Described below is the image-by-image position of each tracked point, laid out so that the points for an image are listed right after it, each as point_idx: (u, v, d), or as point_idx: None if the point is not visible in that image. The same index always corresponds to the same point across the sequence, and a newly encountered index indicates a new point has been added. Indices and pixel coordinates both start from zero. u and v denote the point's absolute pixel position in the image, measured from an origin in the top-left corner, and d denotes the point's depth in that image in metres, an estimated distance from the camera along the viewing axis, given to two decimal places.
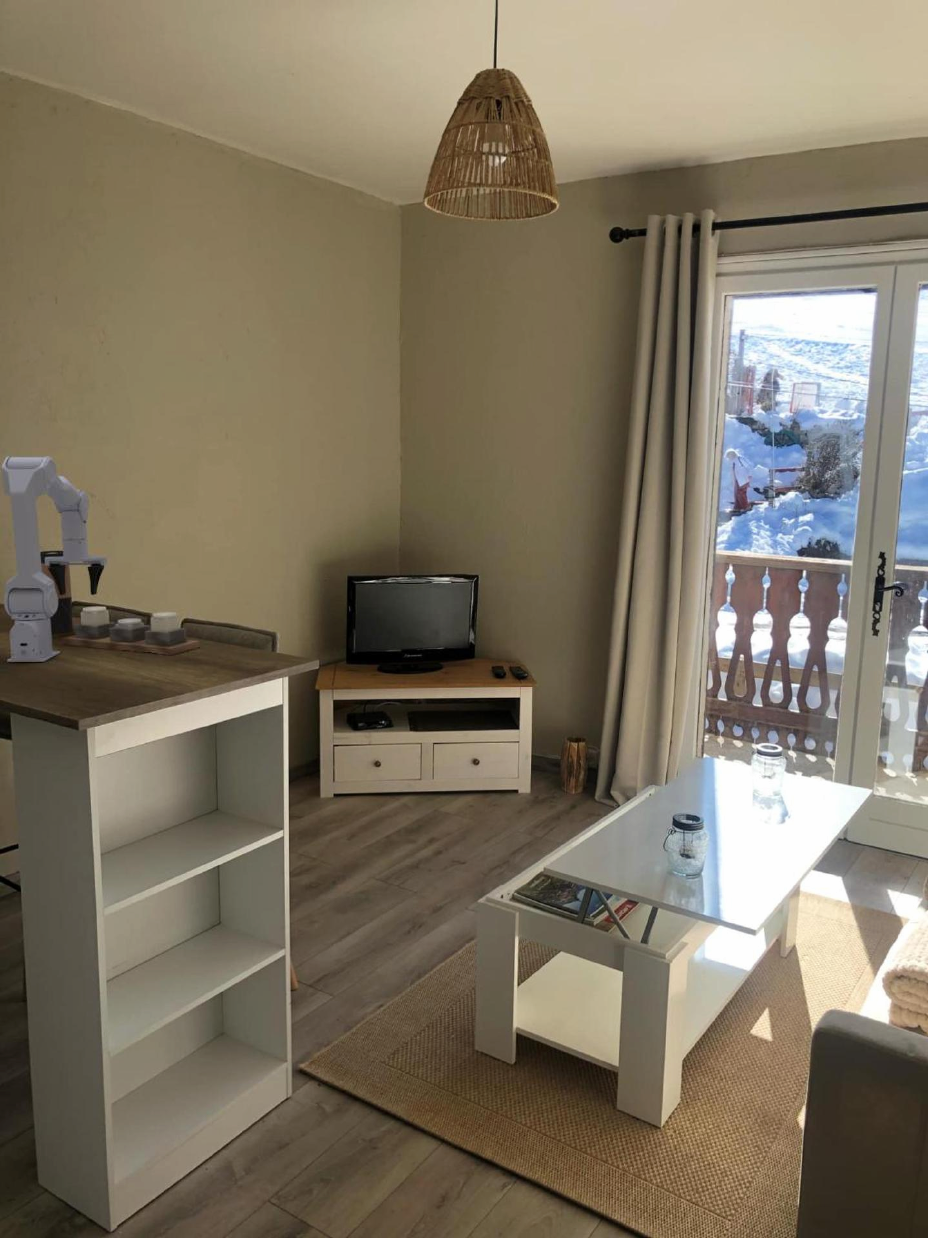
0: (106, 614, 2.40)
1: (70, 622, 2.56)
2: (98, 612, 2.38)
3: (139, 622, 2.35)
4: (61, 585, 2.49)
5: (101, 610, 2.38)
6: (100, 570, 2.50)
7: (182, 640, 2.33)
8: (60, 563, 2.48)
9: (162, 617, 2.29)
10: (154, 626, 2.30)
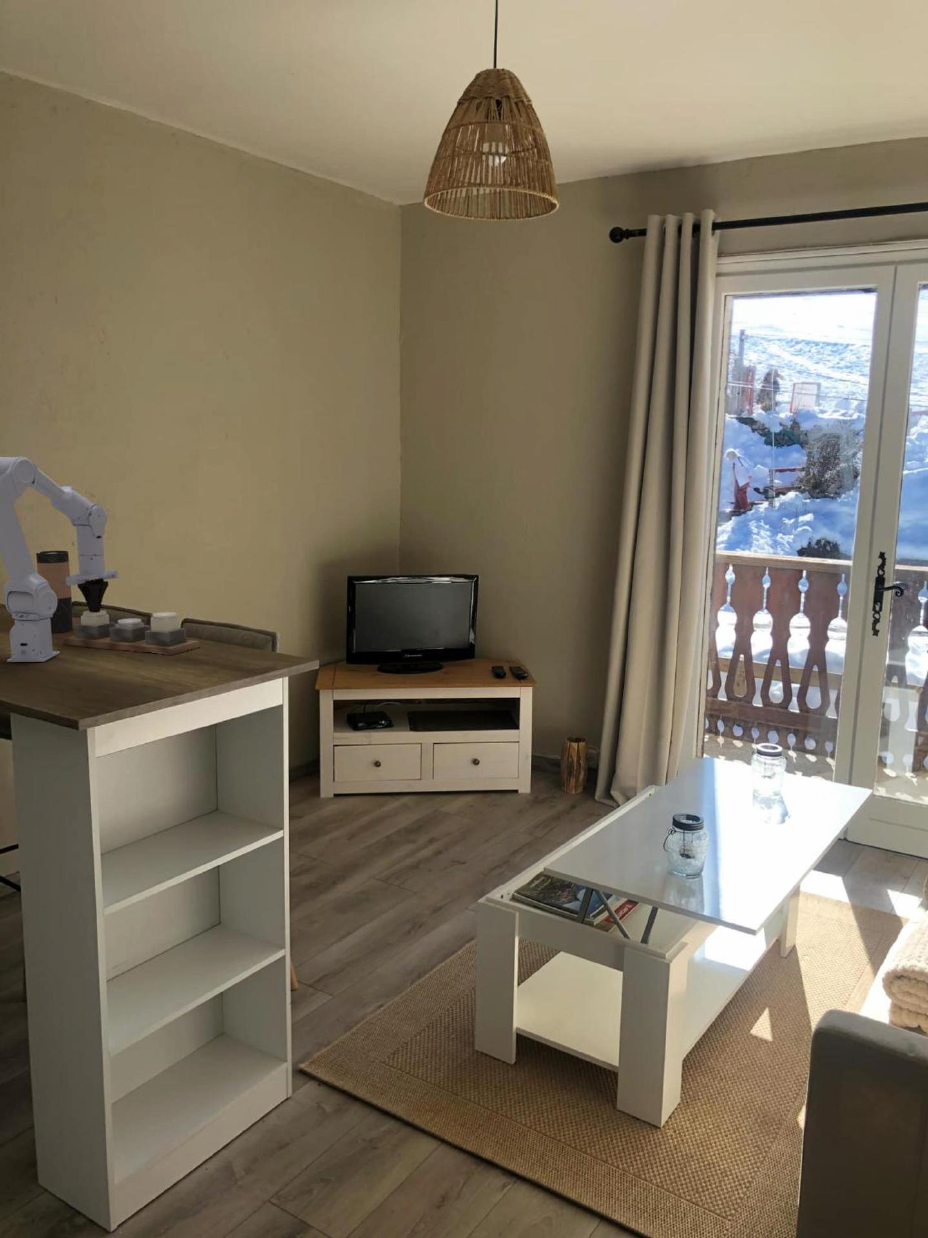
0: (106, 618, 2.41)
1: (70, 622, 2.56)
2: (98, 616, 2.38)
3: (139, 622, 2.35)
4: None
5: (101, 614, 2.39)
6: None
7: (182, 640, 2.33)
8: None
9: (162, 617, 2.29)
10: (154, 626, 2.30)
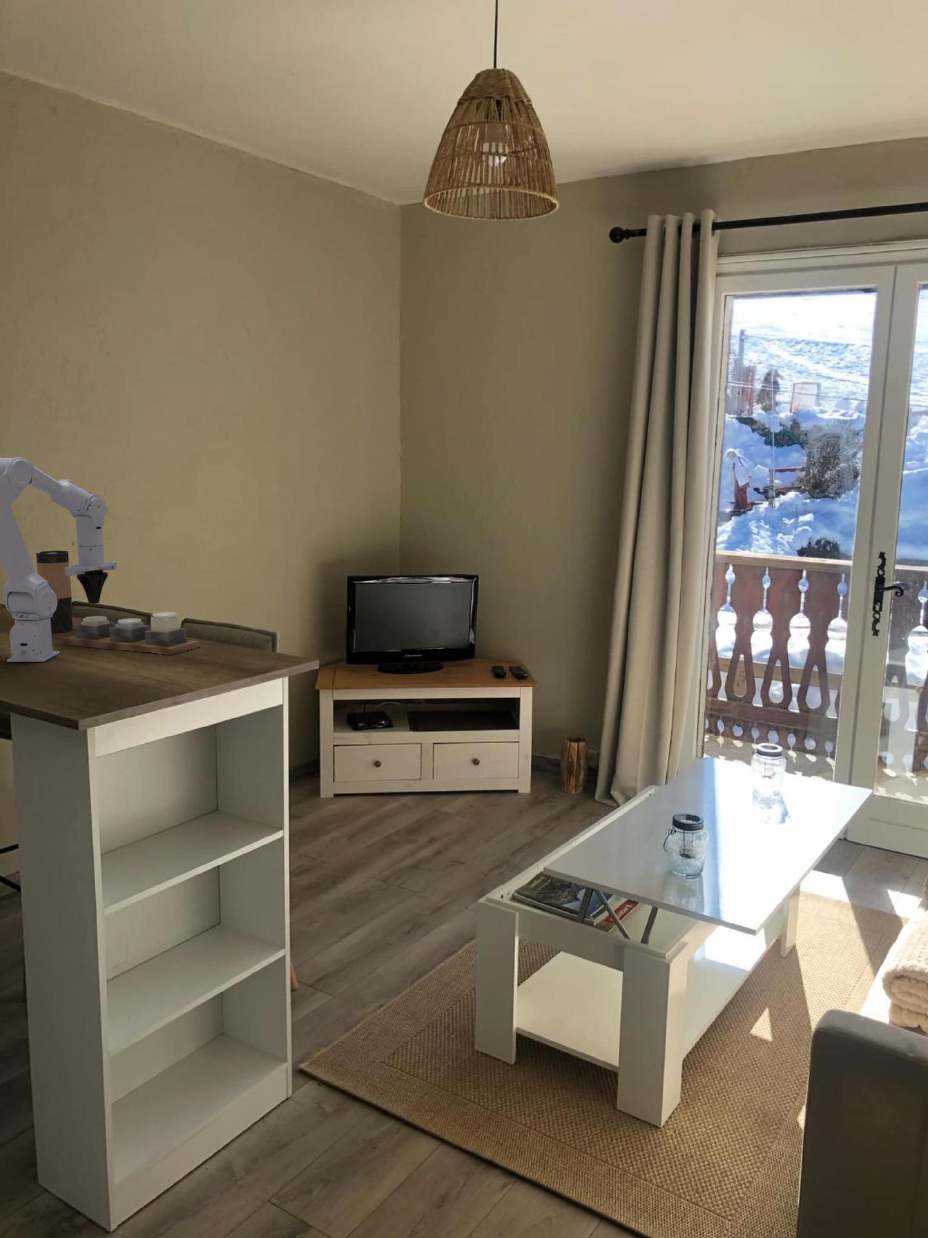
0: None
1: (70, 622, 2.56)
2: (99, 622, 2.38)
3: (139, 622, 2.35)
4: None
5: (102, 620, 2.39)
6: None
7: (182, 640, 2.33)
8: None
9: (162, 617, 2.29)
10: (154, 626, 2.30)
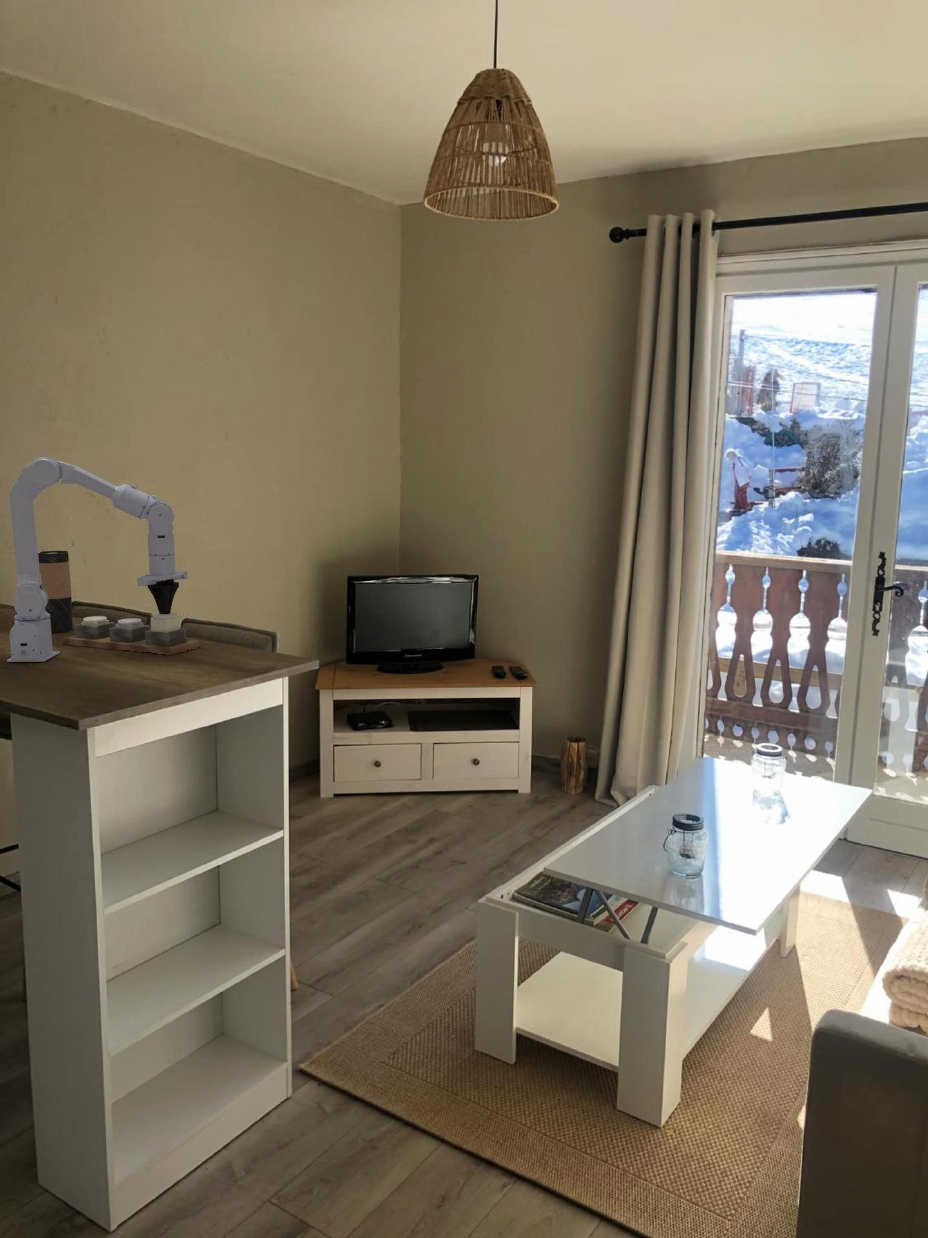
0: None
1: (70, 622, 2.56)
2: (99, 622, 2.38)
3: (139, 622, 2.35)
4: None
5: (102, 620, 2.39)
6: None
7: (182, 640, 2.33)
8: None
9: (162, 617, 2.29)
10: (154, 626, 2.30)
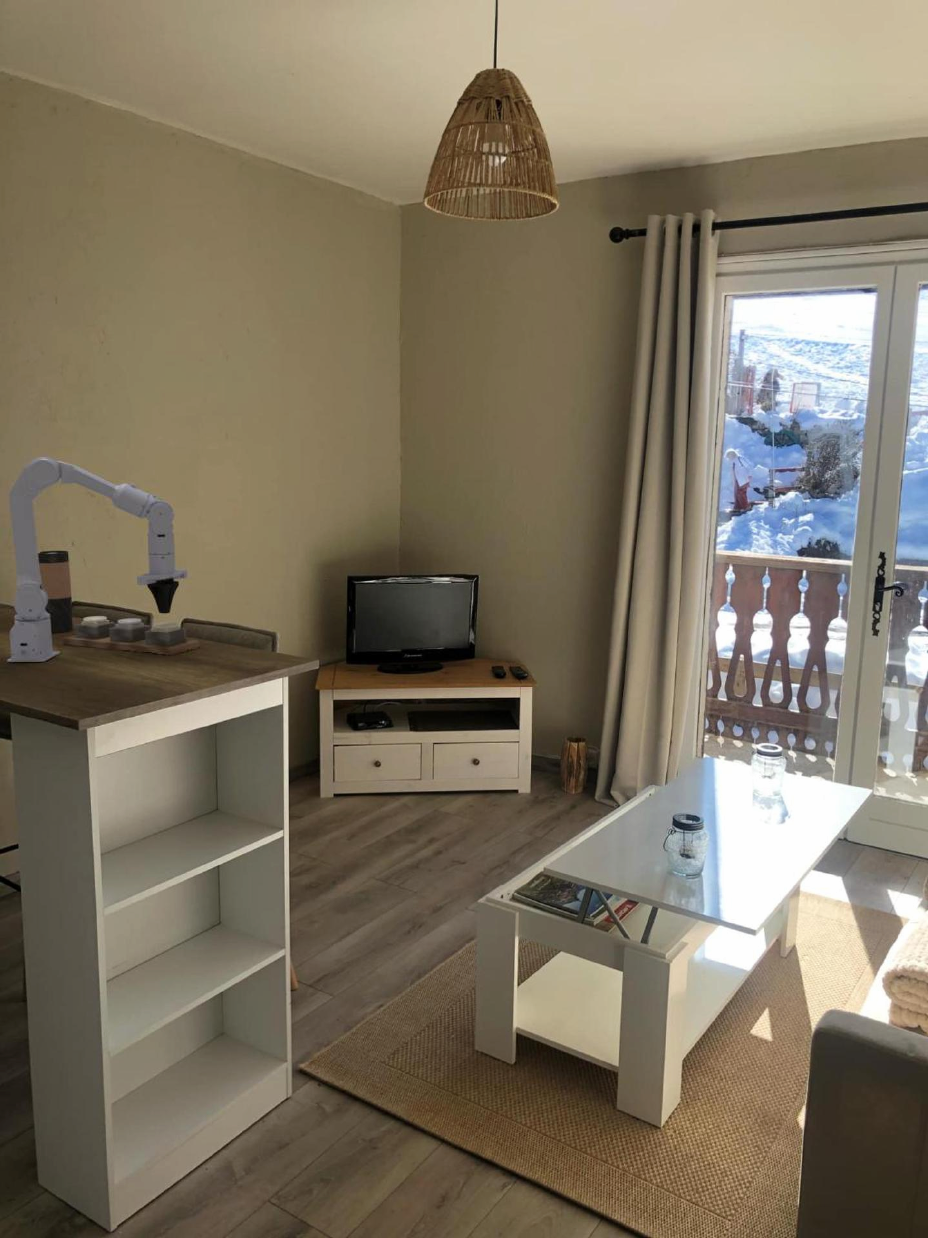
0: None
1: (70, 622, 2.56)
2: (99, 622, 2.38)
3: (139, 622, 2.35)
4: None
5: (102, 620, 2.39)
6: None
7: (182, 640, 2.33)
8: None
9: (163, 627, 2.29)
10: None
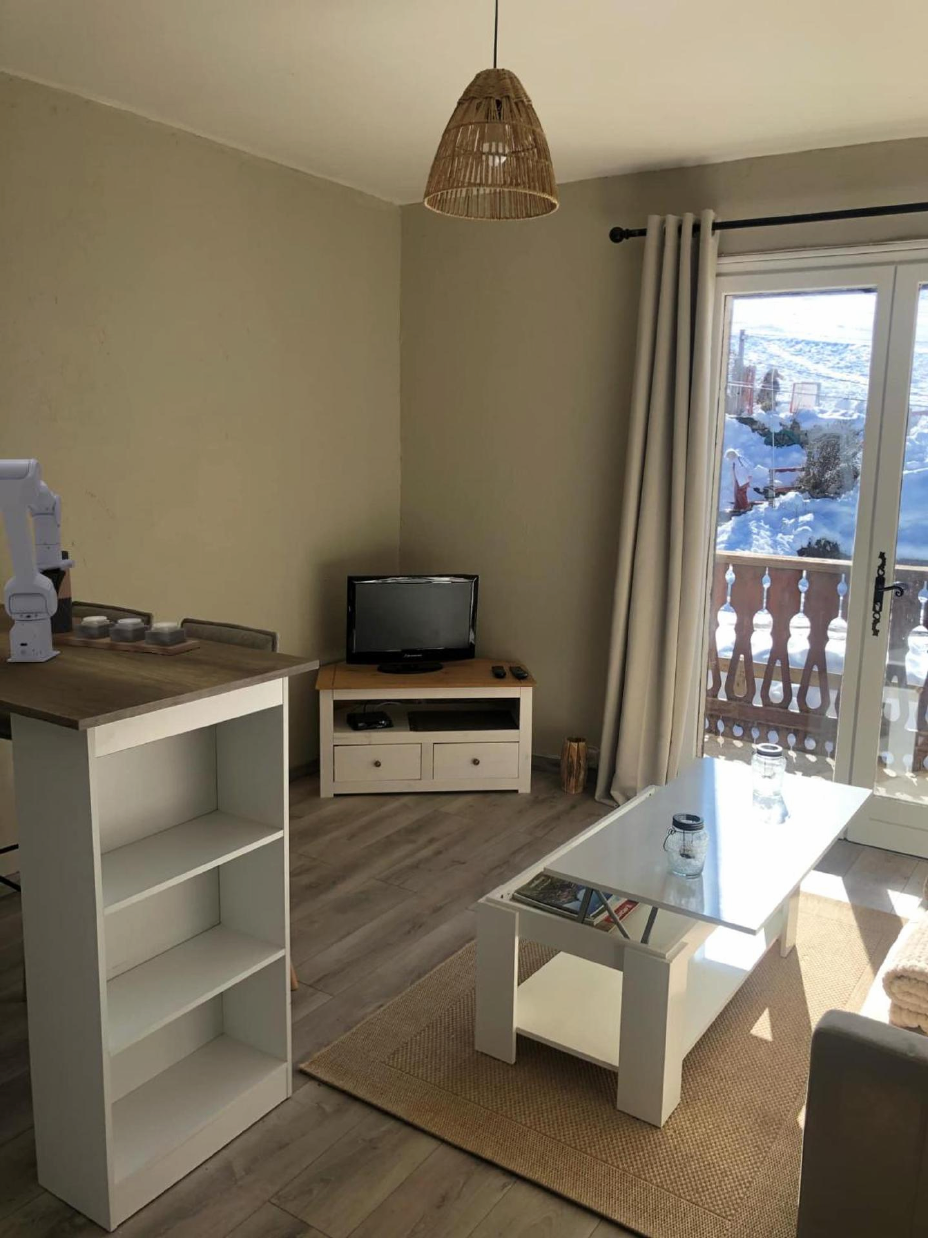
0: None
1: (70, 622, 2.56)
2: (99, 622, 2.38)
3: (139, 622, 2.35)
4: None
5: (102, 620, 2.39)
6: None
7: (182, 640, 2.33)
8: None
9: (163, 627, 2.29)
10: None
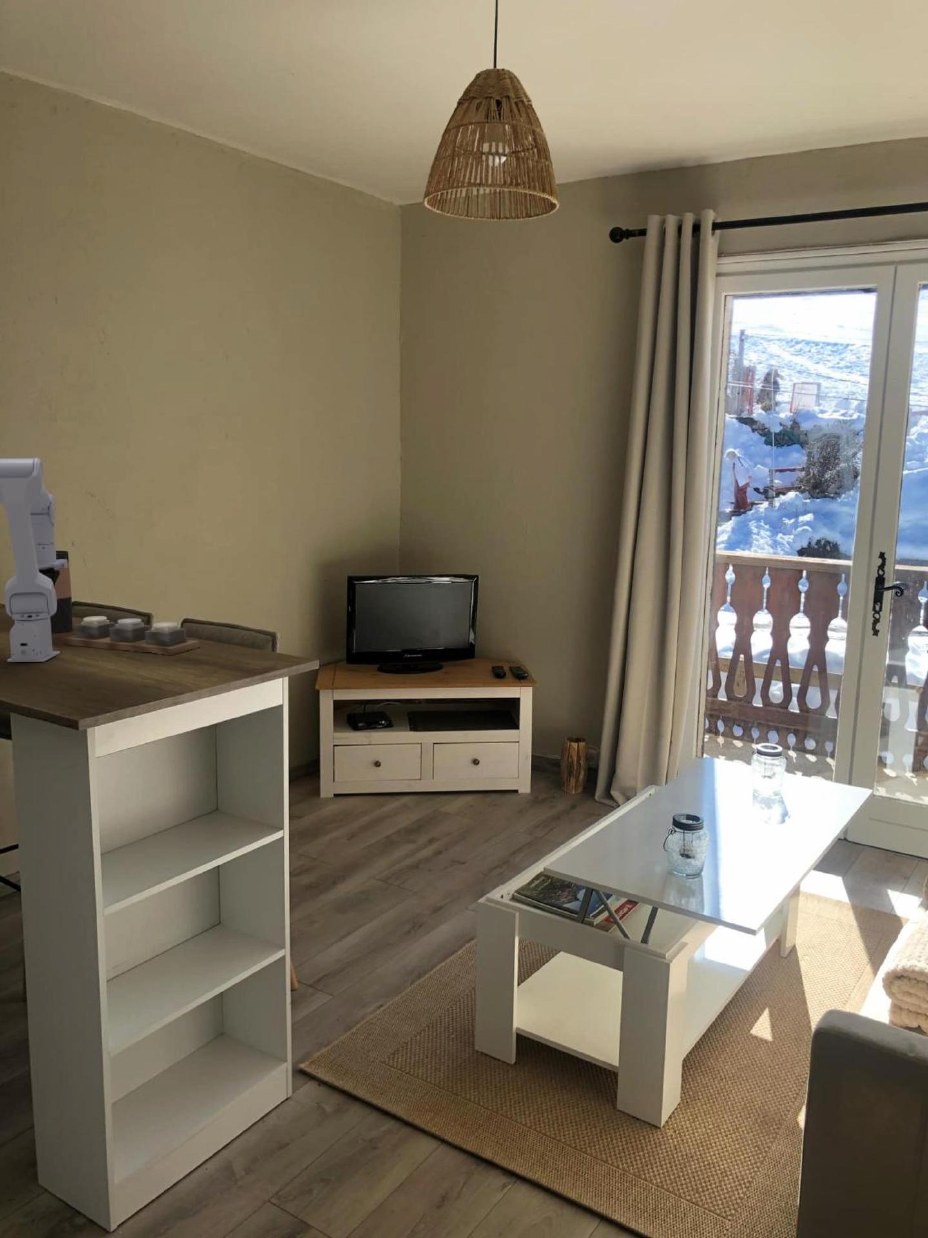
0: None
1: (70, 622, 2.56)
2: (99, 622, 2.38)
3: (139, 622, 2.35)
4: None
5: (102, 620, 2.39)
6: None
7: (182, 640, 2.33)
8: None
9: (163, 627, 2.29)
10: None
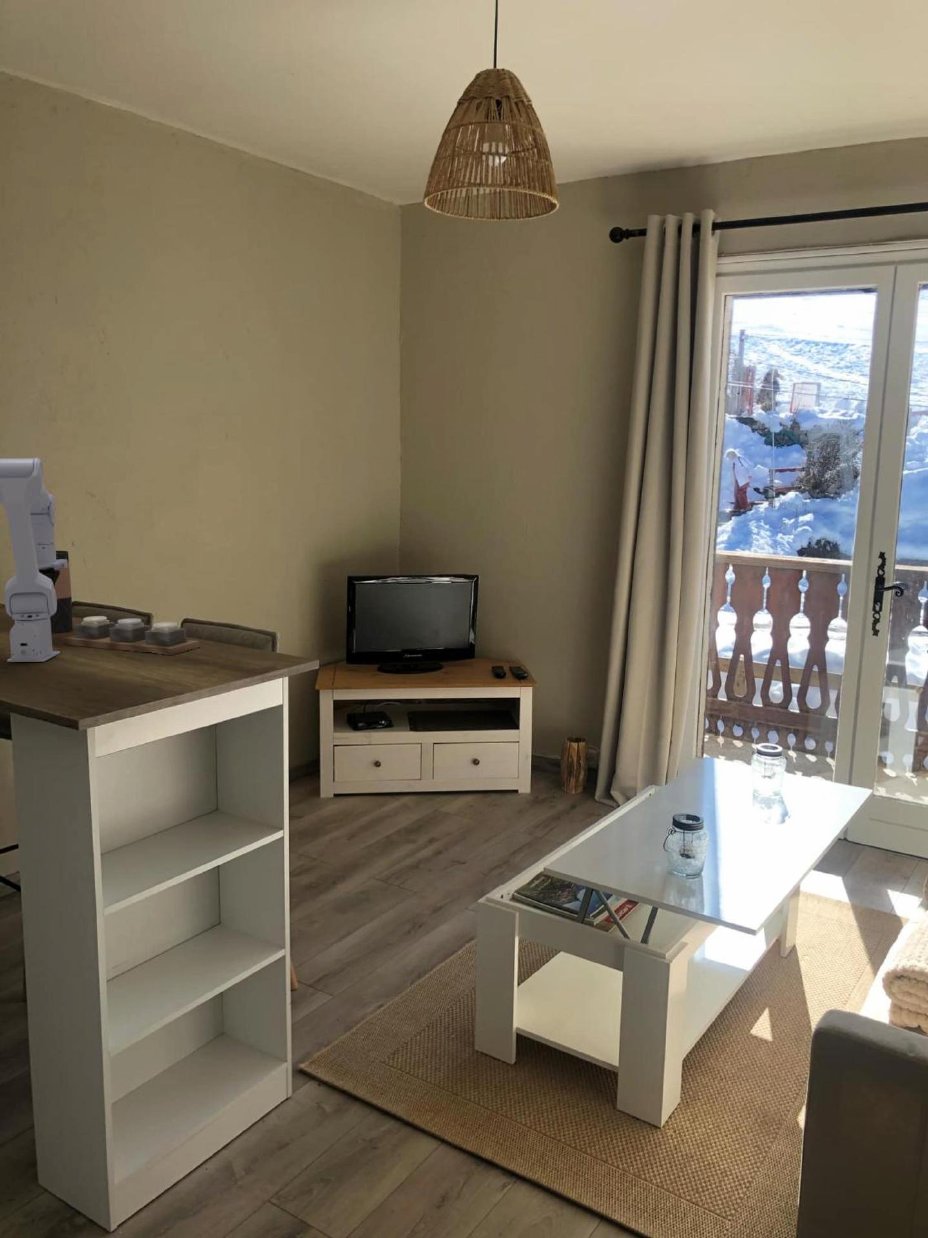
0: None
1: (70, 622, 2.56)
2: (99, 622, 2.38)
3: (139, 622, 2.35)
4: None
5: (102, 620, 2.39)
6: None
7: (182, 640, 2.33)
8: None
9: (163, 627, 2.29)
10: None
